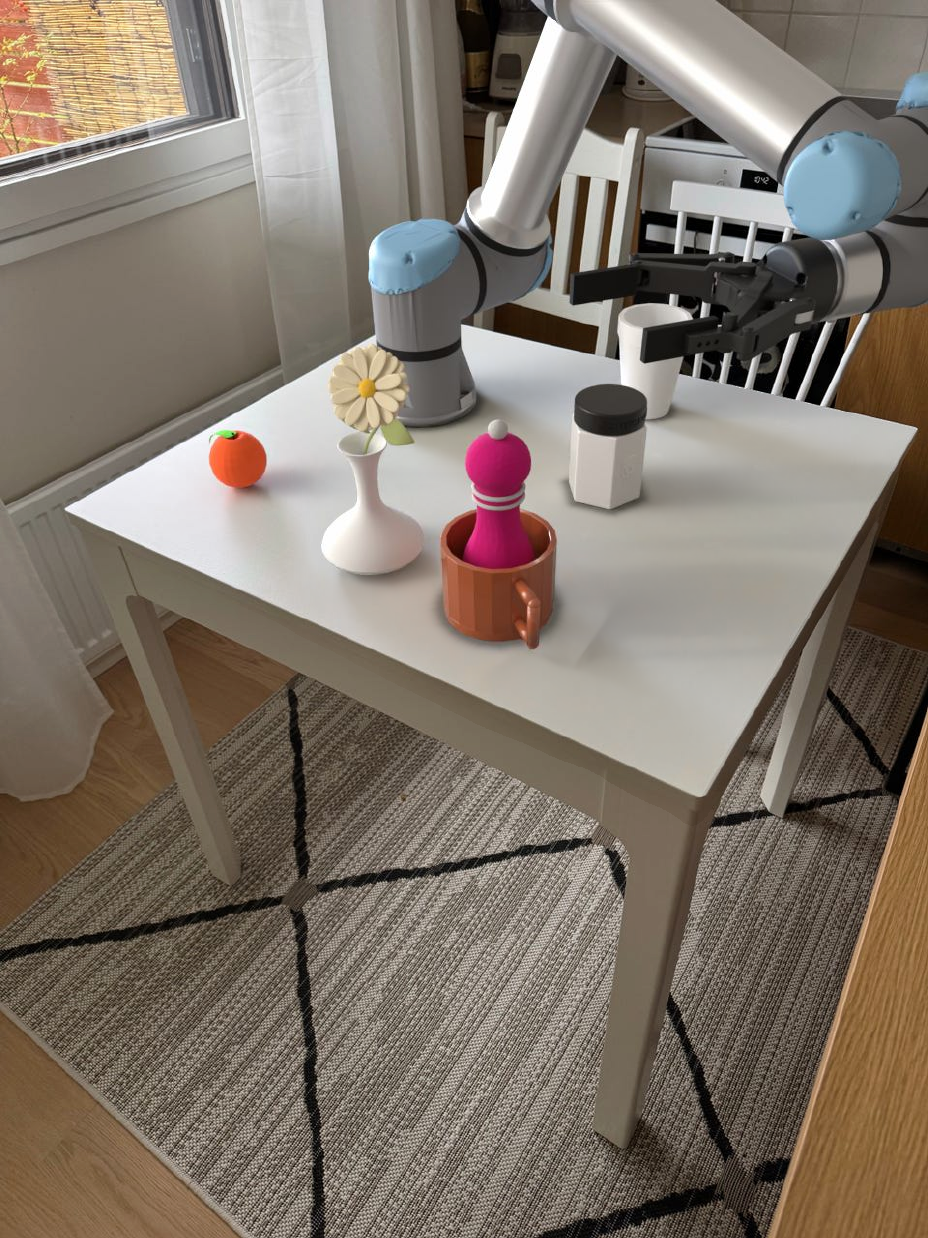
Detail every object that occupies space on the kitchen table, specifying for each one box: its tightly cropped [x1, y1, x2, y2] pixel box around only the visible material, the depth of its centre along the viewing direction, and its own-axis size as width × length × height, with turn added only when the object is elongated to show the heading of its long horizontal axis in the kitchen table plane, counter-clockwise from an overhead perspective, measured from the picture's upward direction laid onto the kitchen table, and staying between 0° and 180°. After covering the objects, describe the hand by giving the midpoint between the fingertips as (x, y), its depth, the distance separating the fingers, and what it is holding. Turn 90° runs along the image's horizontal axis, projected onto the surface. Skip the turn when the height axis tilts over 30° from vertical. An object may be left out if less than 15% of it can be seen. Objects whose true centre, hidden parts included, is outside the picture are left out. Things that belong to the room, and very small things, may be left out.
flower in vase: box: [321, 343, 426, 576], centre depth 92 cm, size 13×11×25 cm
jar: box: [568, 383, 648, 510], centre depth 106 cm, size 9×8×12 cm
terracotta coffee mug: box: [439, 508, 558, 650], centre depth 89 cm, size 15×11×8 cm
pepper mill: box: [463, 419, 535, 569], centre depth 86 cm, size 7×7×20 cm
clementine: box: [208, 429, 268, 489], centre depth 111 cm, size 8×7×7 cm
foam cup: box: [616, 302, 694, 420], centre depth 121 cm, size 10×9×13 cm
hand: (604, 316), depth 78 cm, fingers open, 13 cm apart
